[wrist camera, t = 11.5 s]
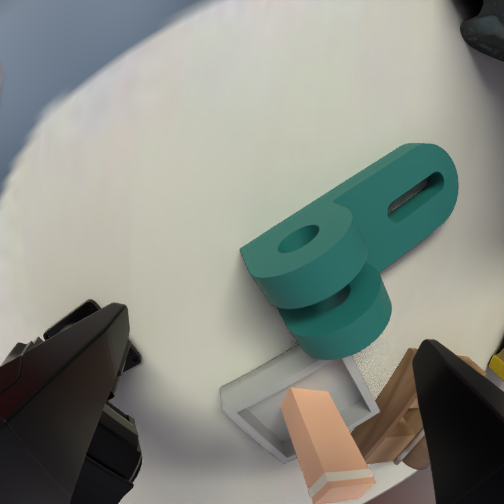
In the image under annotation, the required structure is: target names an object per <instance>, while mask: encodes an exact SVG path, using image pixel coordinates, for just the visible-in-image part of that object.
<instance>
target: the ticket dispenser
mask: <svg viewBox="0 0 504 504" xmlns="http://www.w3.org/2000/svg"><path fill="white" fill-rule="evenodd" d="M417 350H418V349H412V348H409V349H408V351H407V352H406V354H405V356H404V357H403V359H402V361H401V362H400V364H399V366H398V367H397V369H396V370H395V372H394V374H393V375H392V377H391V378H390V380H389V381H388V383H387V384H386V386H385V387H384V389H383V390H382V392H381V393H380V395H379V396H378V398H377V399H376V401H375V402H376V404H377V406H378V408H379V410H380V412H379V413H377V414H376V415H374V416H373V417H371V418H369V419H368V420H366V421H365V422H363V423H361V424H360V425H358V426H357V427H356V428H355V429H354V430H353V432H352V433H351V436H352V438H353V439H354V441H355V443H356V445H357V447H358V449H359V451H360V453H361V455H362V456H363V458H364V460H365V462H366V464H371V463H380V462H387V461H393V462H394V464H396V465H398V464H399V463H400V462H401V461H403V462H404V463H405V464H406V465H408V466H409V467H411V468H413V469H417V470H423V469H426V468H427V467H428V466H429V465H430V459H429V454H428V449H427V443H426V438H425V433H424V429H423V424H422V420H421V415H420V411H419V406H418V400H417V393H416V386H415V380H414V374H413V368H412V360H413V357H414V356H415V354H416V352H417ZM458 357H459V358H461V359H462V360H463V361H465V362H466V363H467V364H468V365H470V366H471V367H472V368H474V369H475V370H476V371H478V372H479V373H480V374H481V375H483V376H484V377H485V376H486V374H487V373H486V372H485V371H483V370H482V369H481V368H480V367H479V366H478V365H477V364H476V363H474V362H473V361H472V360H471V359H470V358H469V357H465V356H458Z"/></svg>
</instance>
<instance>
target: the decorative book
mask: <svg viewBox="0 0 504 504" xmlns="http://www.w3.org/2000/svg"><path fill="white" fill-rule="evenodd" d="M488 367H489V368H490V369H492V370H493V371H494V372H495V373H496V374H497V375H498V376H499V377H500V378H501V379H502V380H503V381H504V348H503V349H502V350H501V352H500V353H499V354H498V353H497V354H495V355H493V357H492V359H491V361H490V364H489V366H488Z"/></svg>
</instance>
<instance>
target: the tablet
mask: <svg viewBox="0 0 504 504" xmlns="http://www.w3.org/2000/svg"><path fill="white" fill-rule="evenodd" d="M460 30H461V34H462V36H463V38H464V40H465V41H466V42H467V43H468V44H469V45H471V46H472V47H474V48H475V49H477V50H479V51H481V52H483V53H485V54H487V55H489V56H491V57H494V58H496V59H499V60H501V61H504V0H483V6H482V9H481V11H480V13H479V14H478V16H476V17H474V18H471V19H468V20H465V21H464V22H463V23H462V24H461V27H460Z"/></svg>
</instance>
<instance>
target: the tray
mask: <svg viewBox="0 0 504 504" xmlns="http://www.w3.org/2000/svg"><path fill="white" fill-rule="evenodd" d="M290 387H292V388H300V389H308V390H316V391H326V392H329V394H330V396H331V398H332V400H333V402H334V404H335V405H336V407H337V409H338V411H339V413H340V415H341V417H342V419H343V421H344V422H345V424H346V426H347V428H348V430H351V429H353V428H355V427H356V426H358V425H360V424H361V423H363V422H365V421H366V420H368V419H369V418H371V417H373V416H374V415H376V414H377V413H379V412H380V410H379V408H378V406H377V404H376V402H375V400H374V398H373V396H372V394H371V392H370V390H369V388H368V386H367V384H366V382H365V380H364V378H363V376H362V374H361V372H360V370H359V368H358V366H357V364H356V362H355V361H354V359H353V357H352V355H351V356H348V357H345V358H341V359H336V360H320V359H316V358H313V357H311V356H309V355H308V354H306V353H305V352H304V350H303V349H302V348H301V346H300V345H299V344H298V345H296V346H295V347H293V348H291V349H290V350H288V351H286V352H285V353H283V354H281V355H279V356H278V357H276V358H274V359H272V360H271V361H269V362H267V363H265V364H263V365H262V366H260V367H258V368H256V369H254V370H253V371H251V372H249V373H247V374H245V375H243V376H241V377H239V378H238V379H236V380H234V381H232V382H230V383H228V384H226V385H224V386H222V387H220V393H221V402H222V410H223V412H224V413H225V414H226V415H227V416H228V417H229V418H230V419H231V420H233V421H234V422H235V423H236V424H237V425H238V426H239V427H240V428H241V429H243V430H244V431H245V432H246V433H247V434H248V435H249V436H251V437H252V438H253V439H254V440H255V441H256V442H258V443H259V444H260V445H261V446H262V447H264V448H265V449H266V450H267V451H268V452H270V453H271V454H272V455H273V456H275V457H276V458H277V459H278V460H280V461H281V462H282V463H283V464H285V463H287V462H289V461H291V460H293V459H296V458H297V455H296V452H295V449H294V446H293V443H292V440H291V437H290V434H289V431H288V428H287V425H286V422H285V419H284V416H283V413H282V410H281V407H280V405H281V403H282V401H283V400H284V398H285V396H286V394H287V393H288V391H289V389H290Z"/></svg>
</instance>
